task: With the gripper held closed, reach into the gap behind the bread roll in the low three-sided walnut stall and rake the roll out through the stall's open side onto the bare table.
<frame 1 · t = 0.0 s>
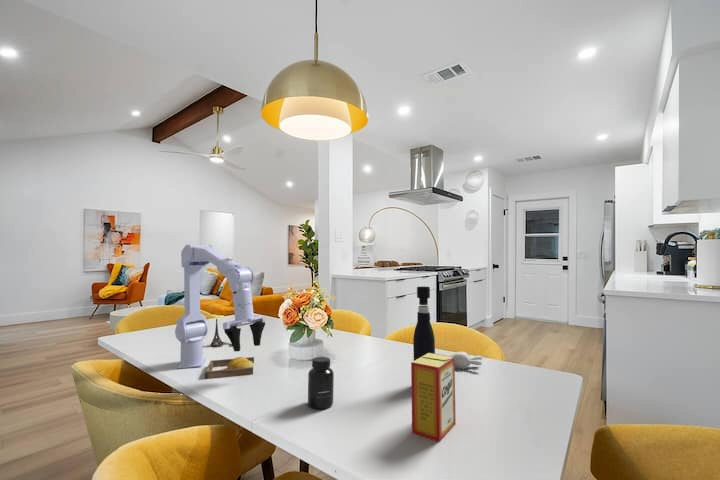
hand: (247, 348, 109), 11 cm above the table, tool pointing down, fingers open, 7 cm apart
eiffel tower figurine: (217, 347, 153), on the table
wine bottle: (424, 387, 104), on the table
grey fingered piece: (459, 368, 122), on the table
supplement bottle: (320, 405, 92), on the table
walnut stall: (231, 369, 120), on the table
bread roll: (240, 370, 121), on the table
baking soda box: (434, 429, 79), on the table
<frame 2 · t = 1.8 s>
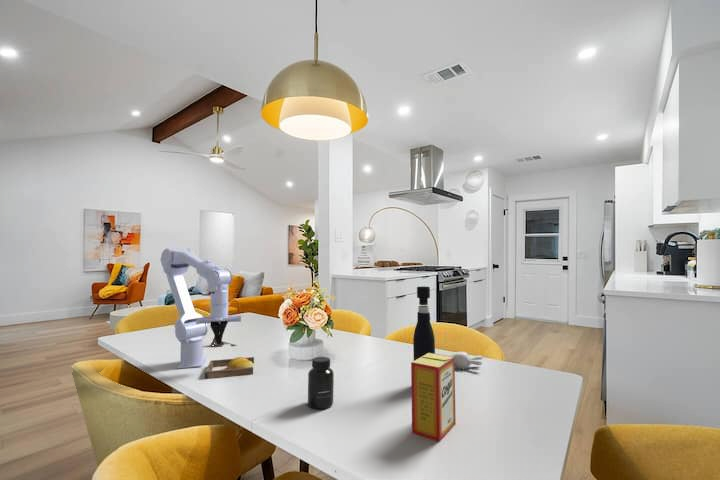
hand: (219, 343, 120), 9 cm above the table, tool pointing down, fingers closed
nothing on the table moved.
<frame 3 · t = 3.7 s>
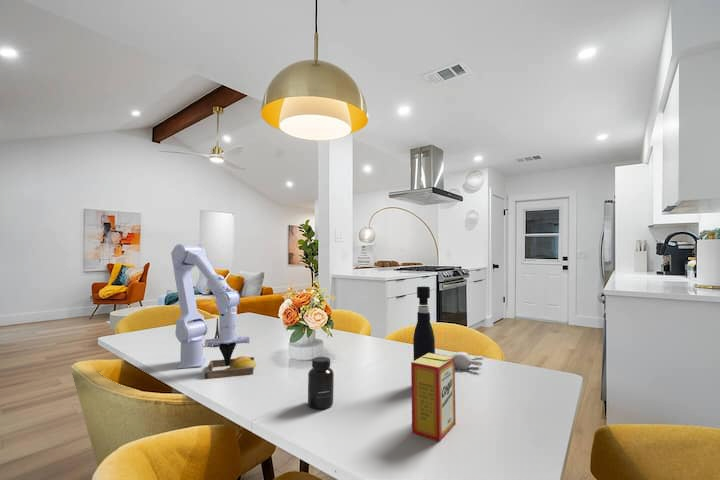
hand: (227, 365, 120), 2 cm above the table, tool pointing down, fingers closed
bread roll: (242, 369, 122), on the table, touching gripper
everything else where it was.
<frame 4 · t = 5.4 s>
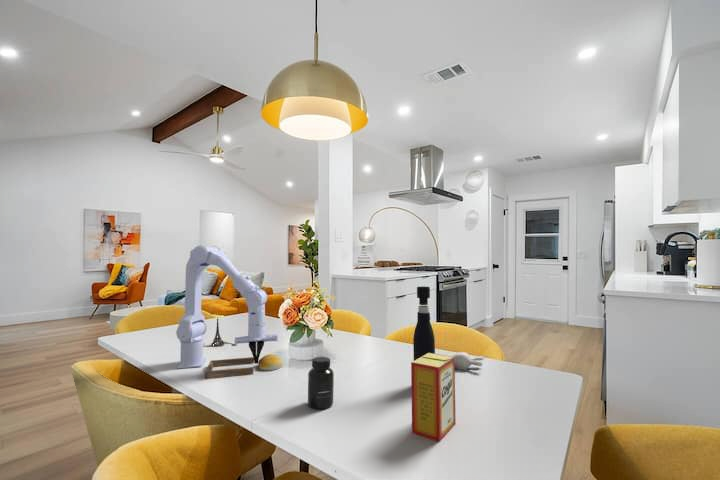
hand: (256, 362, 123), 2 cm above the table, tool pointing down, fingers closed
bread roll: (270, 367, 124), on the table, touching gripper
everything else where it was.
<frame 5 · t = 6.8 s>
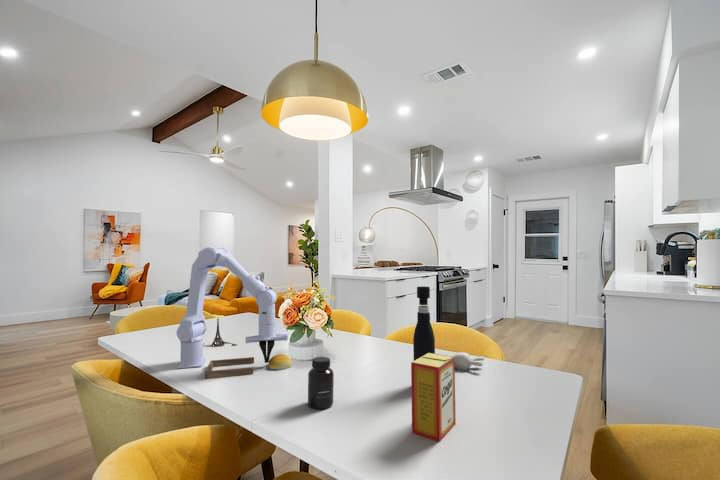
hand: (266, 361, 124), 2 cm above the table, tool pointing down, fingers closed
bread roll: (280, 367, 125), on the table
everything else where it was.
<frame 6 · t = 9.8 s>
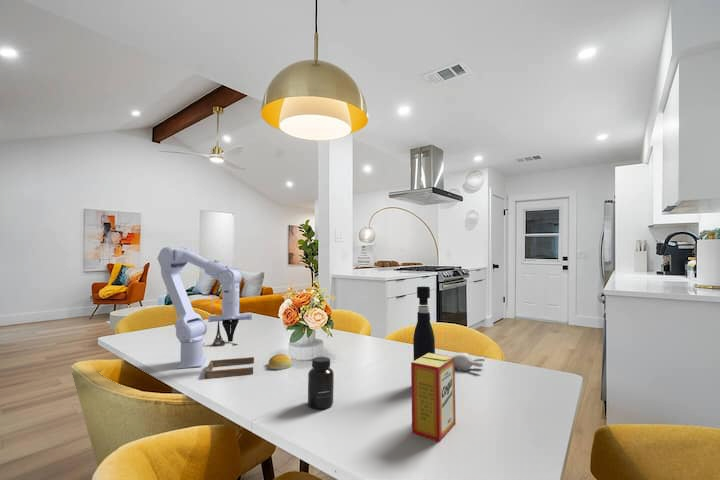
hand: (230, 341, 123), 9 cm above the table, tool pointing down, fingers closed
at the end: bread roll inside the target area (0.5 cm from its centre), on the table; bread roll moved 13.6 cm from its start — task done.
